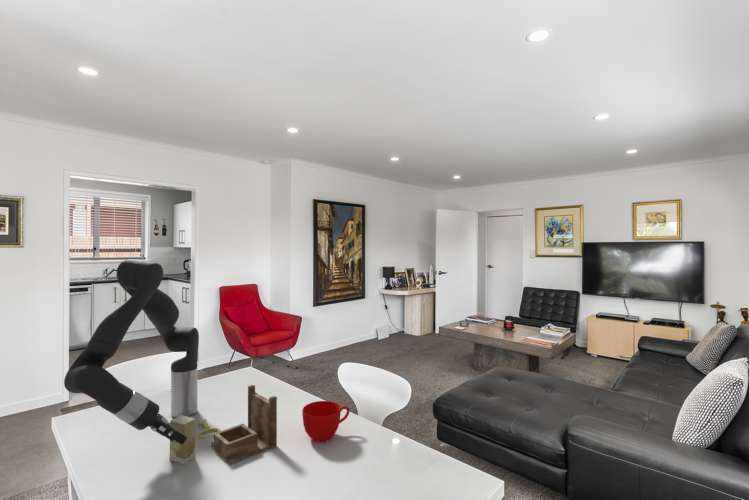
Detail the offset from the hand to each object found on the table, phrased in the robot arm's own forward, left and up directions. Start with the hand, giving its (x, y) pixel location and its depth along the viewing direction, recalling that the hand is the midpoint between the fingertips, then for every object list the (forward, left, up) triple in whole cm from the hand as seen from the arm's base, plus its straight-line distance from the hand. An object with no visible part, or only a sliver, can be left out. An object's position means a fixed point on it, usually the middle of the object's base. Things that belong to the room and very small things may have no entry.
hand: (179, 436), depth 116 cm
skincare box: (0, +1, -8) cm, 8 cm away
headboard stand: (+6, +18, -7) cm, 20 cm away
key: (-13, +13, -8) cm, 20 cm away
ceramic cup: (+20, +41, -8) cm, 46 cm away
